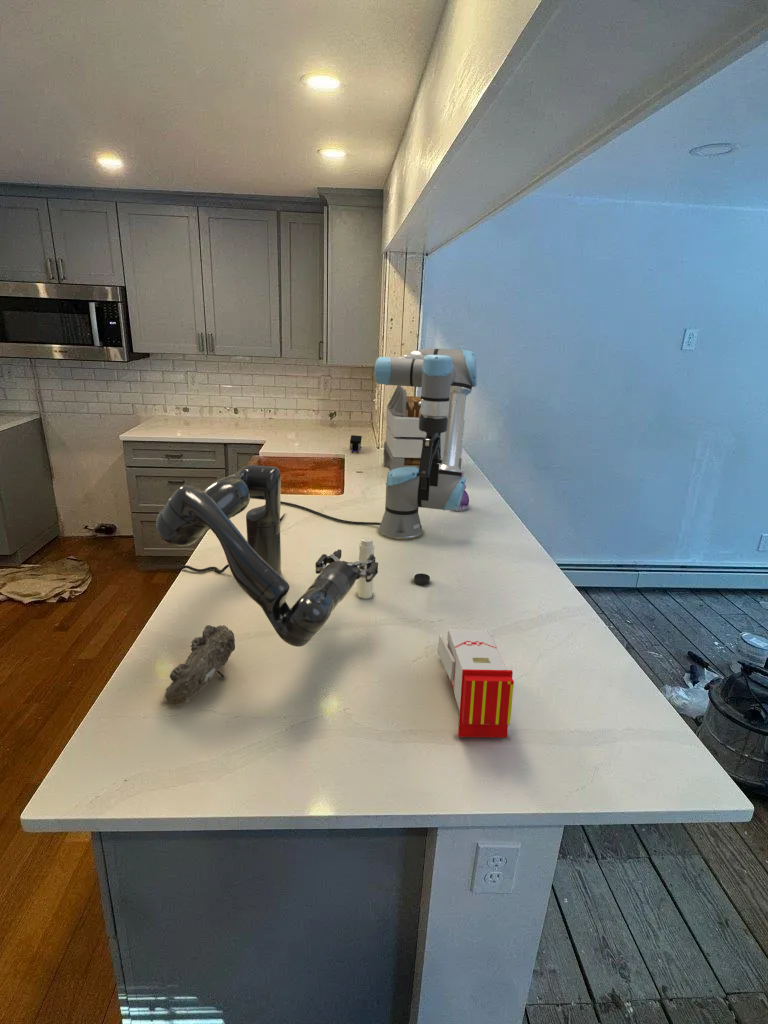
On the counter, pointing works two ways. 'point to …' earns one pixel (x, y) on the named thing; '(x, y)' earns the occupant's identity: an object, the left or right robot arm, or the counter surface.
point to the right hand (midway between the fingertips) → (428, 492)
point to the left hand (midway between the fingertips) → (356, 555)
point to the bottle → (364, 552)
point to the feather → (281, 518)
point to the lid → (421, 579)
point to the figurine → (463, 499)
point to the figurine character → (355, 443)
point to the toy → (478, 682)
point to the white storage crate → (404, 431)
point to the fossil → (201, 663)
